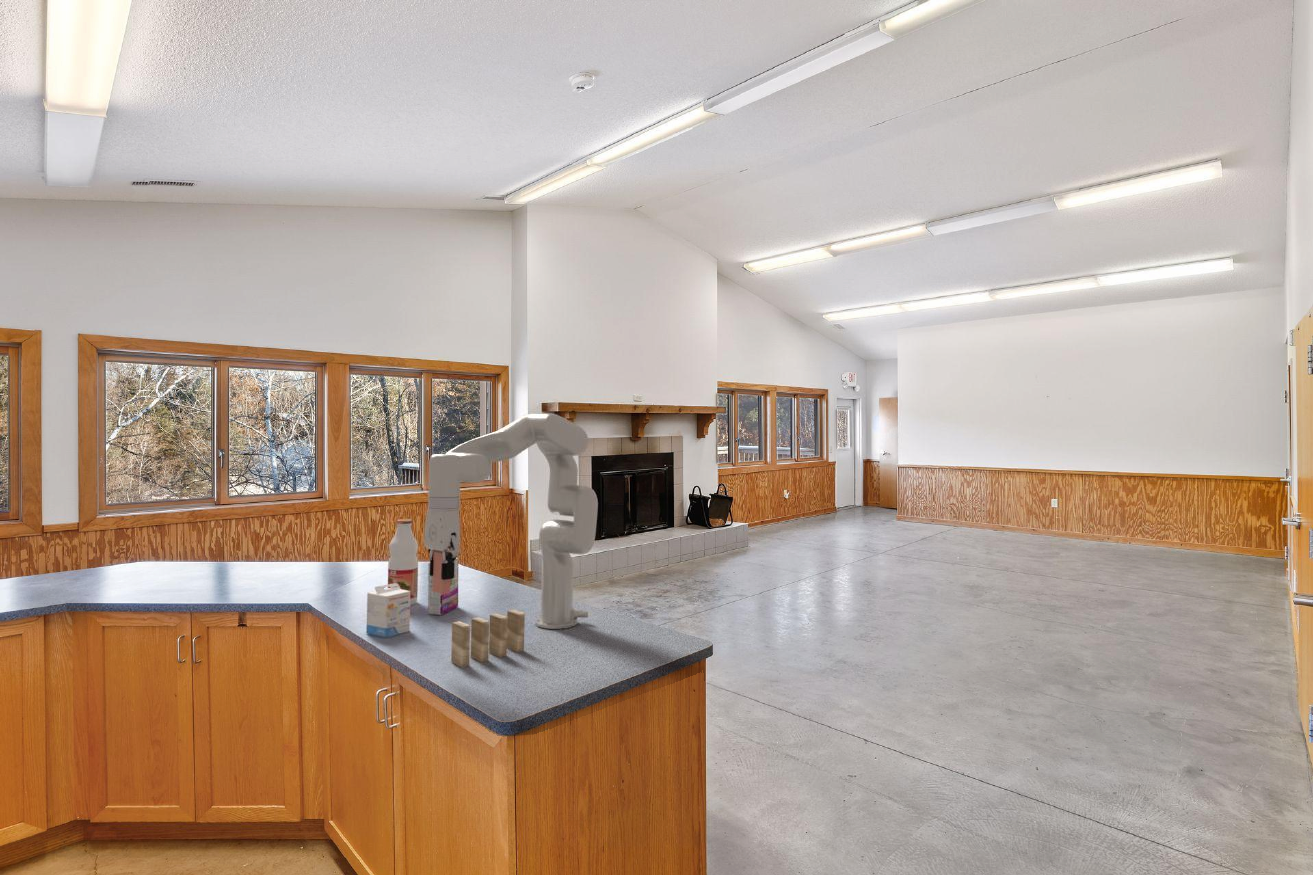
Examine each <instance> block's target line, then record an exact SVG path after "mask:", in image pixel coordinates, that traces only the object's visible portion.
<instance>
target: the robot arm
mask: <svg viewBox="0 0 1313 875" xmlns="http://www.w3.org/2000/svg"><path fill="white" fill-rule="evenodd" d="M533 445H536V446H537V447H538V450H539V451H540V452H541V453H542V454H543V455H544V457H545V459H546V461H547V463H548V465H549V481H548V493H547V508H548V511H549V512H550V513H551V514H554V515H557V516H563V517H573V521H572V520H566V519H549V520H548V521H546V522H545V523H543V524H542V526H541V527H540V529H539V534H538V539H539V544H540V550H541V565H542V566H541V592H540V593H541V595H540V596H541V598H540V600H541V602H540V604H541V605H540V616H539V617H538V618H536V619H535V625H536V626H537V627H538V628H539V627H540V628H541V629H542V628H543V629H547V630H563V629H562V628H564V629H568V628H572V626H573V627H574V626H576V625H577V624H578V618H581V619H582V618H583V619H584V618H586V619H587V618H588V617H589V611H588V610H585V611H584V610H583V609H579V610H576V609H575V608H574V605H573V604H574V602H573V601H574V573H575V572H574V571H575V570H574V569H575V568H574V562H573V558H572V556H571V555H573V554H574V555H586V554H588V553H589V552H590V551H591V550H592V549H593V547H594V545H595V539H596V534H597V533H596V532H597V520H598V510H599V509H598V508H599V507H598V506H599V502H598V497H597V494H596V492H595V490H594V489H593V488H591V487H590V486H587V485H578V476H579V474H578V471H579V470H578V464H577V462H576V460H575V458H574V457H575V456H580V455H582V454H583V453H585V452H586V451H587V449H588V447H589V437H588V435H587V432H586V431H585V429H583V428H582V427H580V426H579V425H577V424H576V423H573V422H572V421H571V420H568V419H566V418H565V417H563V416H560V415H558V414H555V413H551V412H550V413H549V412H548V413H544V412H543V413H541V412H539V413H538V412H536V413H535V412H534V413H532V412H530V413H527V414H524V415H522V416H520V417H519V418H516V419H515V420H514V421H512V422H511V423H509V424H507V425H505V426H504V427H502V428H500V429H499V430H497V431H493V432H491V433H488V434H485V435H482V436H479V437H476V438H473V439H470V440H468V441H464V443H461V444H459V445H457V446H456V447H454V448H452V449H450V450H449V451H448V452H446V453H436V454H435V453H434V454H432V455H431V456H430V457H429V464H428V465H429V466H428V489H427V490H428V492H427V493H428V495H427V496H428V497H427V511H426V516H425V521H424V522H425V524H424V532H423V533H424V534H423V545H424V547H425V548H427V551H428V553H429V554H428V555H429V563H430V576H433V565H434V561H433V557H434V551H440V552H442V554H443V563H442V568H441V579H442V580H446V579H453V578H454V566H455V562H456V558H458V555H459V554H460V553H461V549H460V545H461V544H460V543H461V521H460V520H461V519H460V511H459V510H460V505H461V483H470V484H471V483H472V484H474V483H481V482H484V481H486V479H488V478H489V476H490V475H491V473H492V463H497V462H502V461H508V460H511V459H513V458H515V457H517V456H518V455H519V454H521V453H523V452H524V451H526V450H527V449H529V448H531V446H533ZM447 553H449V555H448V556H447Z"/></svg>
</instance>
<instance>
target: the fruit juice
mask: <svg viewBox="0 0 1313 875" xmlns="http://www.w3.org/2000/svg"><path fill="white" fill-rule="evenodd" d="M412 524H413V520H412V519H411V518H410V519H409V518H408V519H407V518H403V519H402V518H401V519H400V518H399V519H396V523H395V525H396V526H397V527H396V529H395V534H394V536H393V538H392V539H391V540H390V542H389V544H388V552H389V554H390V555H389V556H390V557H389V559H388V563H387V585H389V584H393V583H397V584H398V585H399V587H400V588H401V589H402V590H407V591H410V606H413V605H416V604H417V603H418V593H419V592H418V590H419V588H418V587H419V586H418V583H419V559H418V556H417V553H418V550H419V549H418V548H419V543H418V541H417V540H416V538H415V536H414V533H413V530H412ZM387 588H391V587H387Z"/></svg>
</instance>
